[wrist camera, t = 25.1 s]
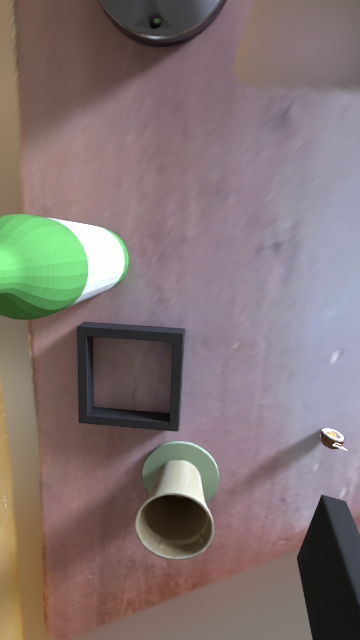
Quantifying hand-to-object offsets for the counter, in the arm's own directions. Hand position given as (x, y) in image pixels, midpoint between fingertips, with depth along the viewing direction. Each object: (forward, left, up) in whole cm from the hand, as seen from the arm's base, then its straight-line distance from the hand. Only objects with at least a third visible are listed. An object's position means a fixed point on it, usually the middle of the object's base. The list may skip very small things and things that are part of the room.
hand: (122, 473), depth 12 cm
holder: (+3, -11, -32) cm, 34 cm away
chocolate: (+26, +4, -32) cm, 41 cm away
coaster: (+19, -16, -32) cm, 40 cm away
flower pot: (+19, -16, -32) cm, 40 cm away
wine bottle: (-11, -4, -32) cm, 34 cm away
